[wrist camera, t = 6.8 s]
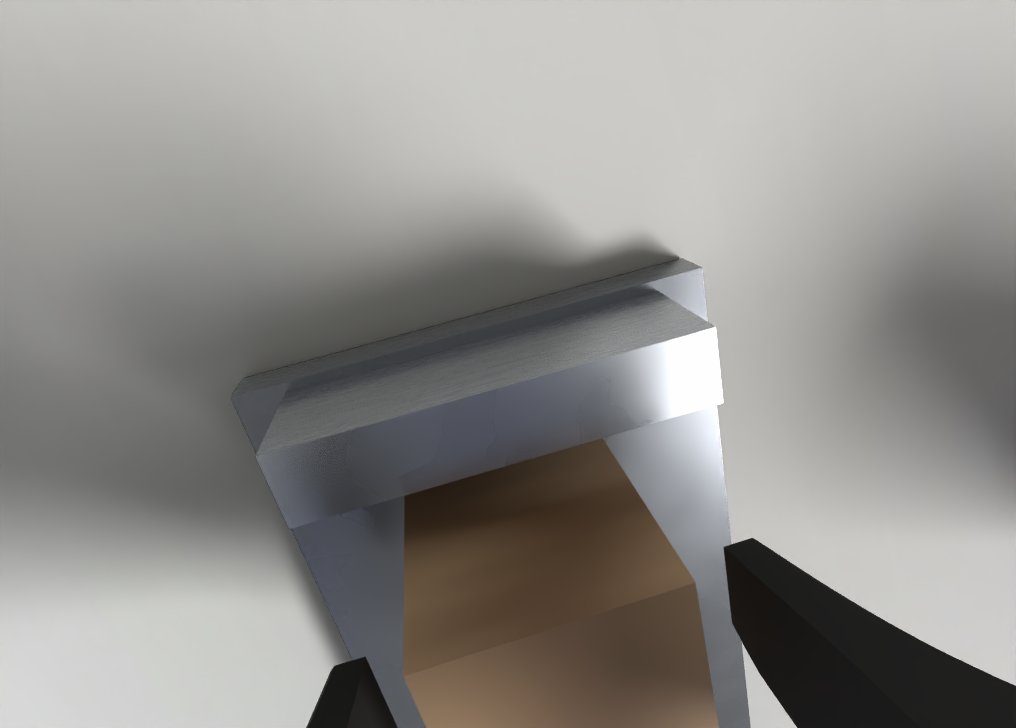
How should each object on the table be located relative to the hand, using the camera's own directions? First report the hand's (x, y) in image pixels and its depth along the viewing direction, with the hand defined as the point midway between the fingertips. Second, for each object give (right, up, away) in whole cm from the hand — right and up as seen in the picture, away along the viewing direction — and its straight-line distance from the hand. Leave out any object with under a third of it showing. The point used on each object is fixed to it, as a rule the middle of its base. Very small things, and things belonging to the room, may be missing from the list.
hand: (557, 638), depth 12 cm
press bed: (0, -3, +5) cm, 6 cm away
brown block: (-1, +1, +3) cm, 3 cm away
